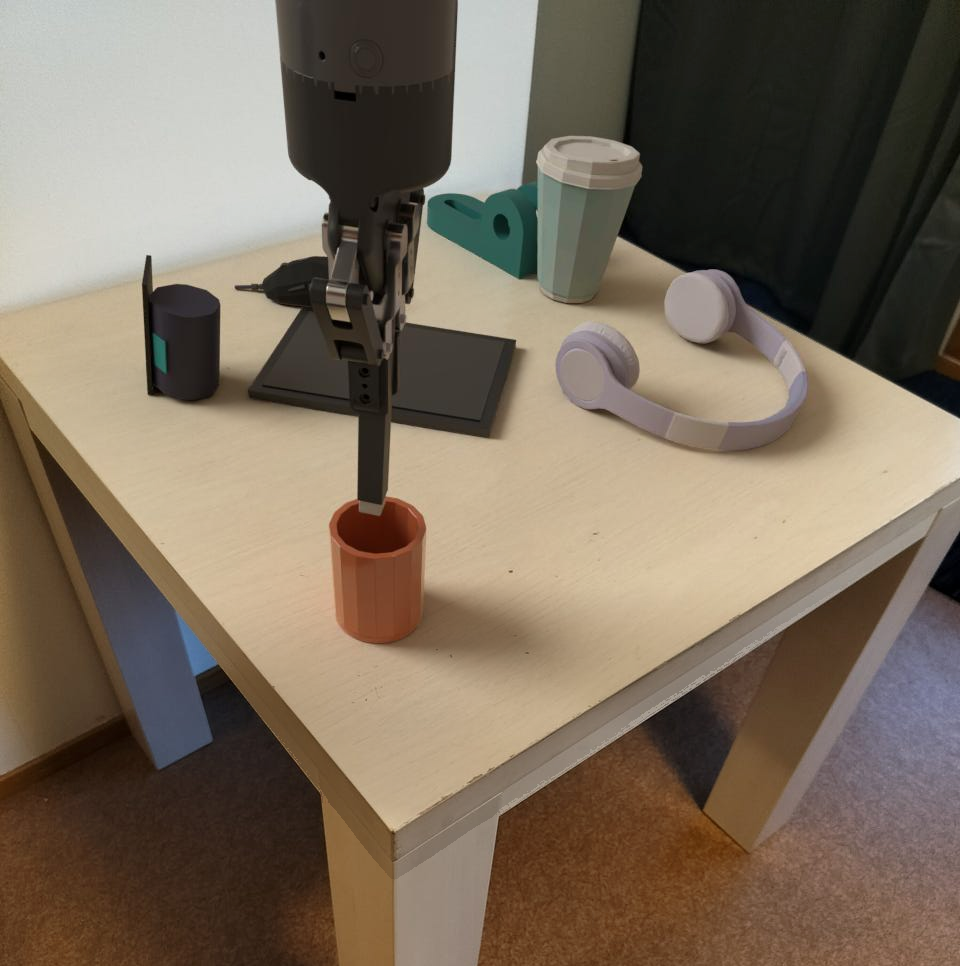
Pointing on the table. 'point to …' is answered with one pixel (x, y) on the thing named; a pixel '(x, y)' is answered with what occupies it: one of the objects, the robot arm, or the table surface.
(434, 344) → the tablet
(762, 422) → the headphones
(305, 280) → the gaming mouse
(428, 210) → the bracket
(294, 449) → the table surface
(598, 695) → the table surface
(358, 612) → the pen cup
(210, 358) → the speaker
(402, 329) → the robot arm
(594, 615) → the table surface
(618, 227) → the disposable coffee cup
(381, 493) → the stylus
